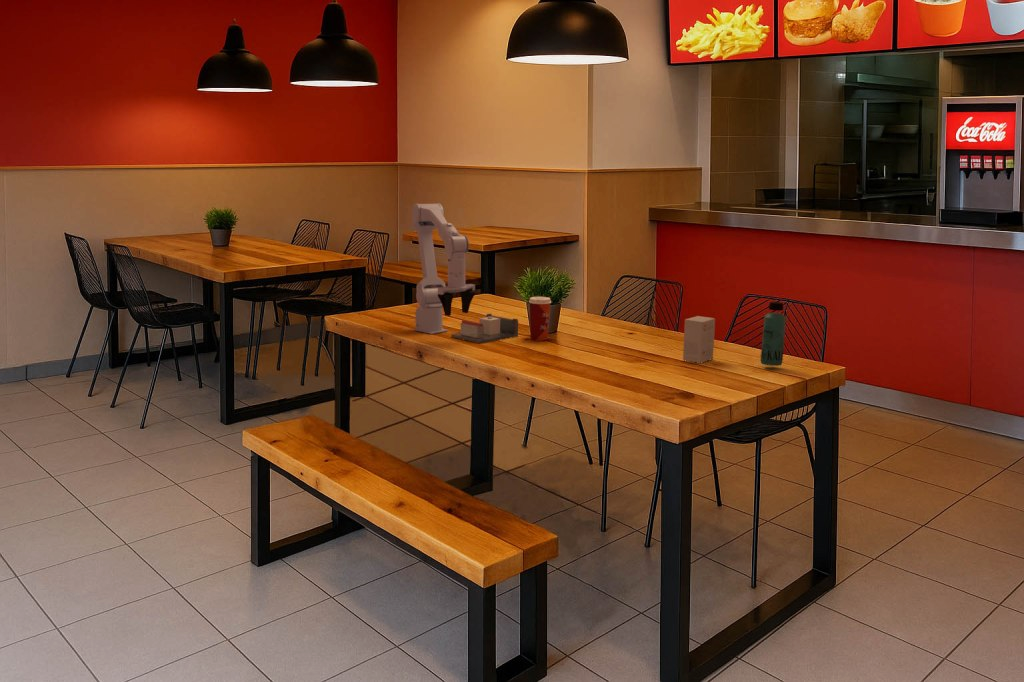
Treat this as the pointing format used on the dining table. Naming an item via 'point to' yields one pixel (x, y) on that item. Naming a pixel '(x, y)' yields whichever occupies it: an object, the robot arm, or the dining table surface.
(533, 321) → the paper cup
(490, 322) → the block
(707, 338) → the small box
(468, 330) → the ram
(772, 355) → the beverage bottle
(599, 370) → the dining table surface
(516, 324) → the press
